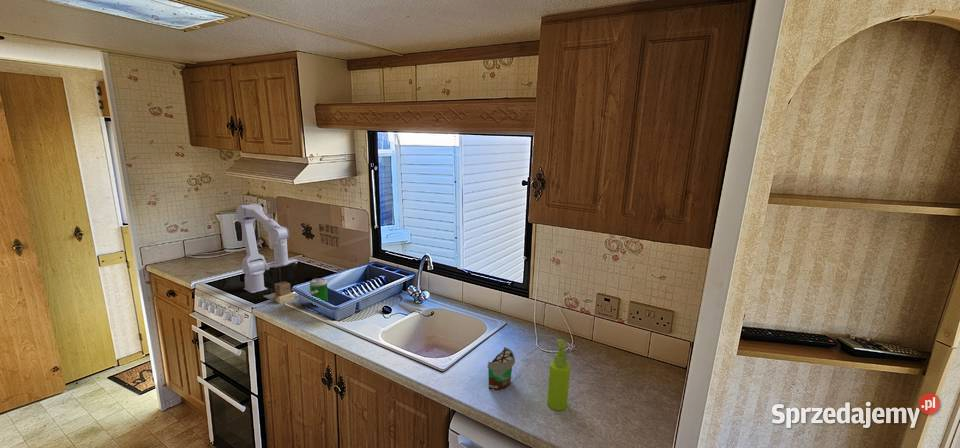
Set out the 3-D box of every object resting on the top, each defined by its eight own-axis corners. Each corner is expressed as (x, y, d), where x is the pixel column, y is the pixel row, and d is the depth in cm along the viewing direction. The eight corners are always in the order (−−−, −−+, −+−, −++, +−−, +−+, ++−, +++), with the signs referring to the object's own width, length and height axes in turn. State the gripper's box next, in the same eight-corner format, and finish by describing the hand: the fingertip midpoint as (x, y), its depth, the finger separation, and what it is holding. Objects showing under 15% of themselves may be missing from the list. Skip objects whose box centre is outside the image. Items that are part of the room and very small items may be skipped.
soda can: (324, 300, 195) (323, 276, 193) (330, 305, 189) (329, 281, 187) (308, 303, 190) (307, 279, 188) (313, 308, 185) (312, 284, 182)
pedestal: (272, 299, 192) (272, 293, 191) (286, 295, 197) (286, 290, 197) (280, 303, 188) (279, 297, 187) (294, 299, 193) (294, 293, 193)
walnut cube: (275, 293, 191) (274, 283, 190) (285, 291, 195) (284, 281, 194) (280, 296, 188) (280, 286, 187) (290, 293, 192) (290, 283, 191)
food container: (503, 397, 125) (505, 368, 123) (486, 391, 128) (487, 362, 126) (519, 378, 135) (521, 351, 133) (503, 372, 138) (504, 346, 136)
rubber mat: (263, 297, 196) (263, 296, 196) (285, 291, 205) (285, 290, 205) (279, 305, 187) (278, 303, 187) (301, 298, 196) (301, 297, 196)
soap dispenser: (563, 396, 126) (568, 337, 122) (569, 410, 119) (574, 349, 116) (544, 396, 126) (549, 337, 122) (549, 410, 119) (554, 348, 115)
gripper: (269, 257, 181) (271, 286, 183) (300, 251, 192) (301, 278, 195) (261, 254, 185) (263, 283, 187) (292, 249, 196) (293, 275, 199)
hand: (282, 280), depth 191 cm, fingers open, 7 cm apart
